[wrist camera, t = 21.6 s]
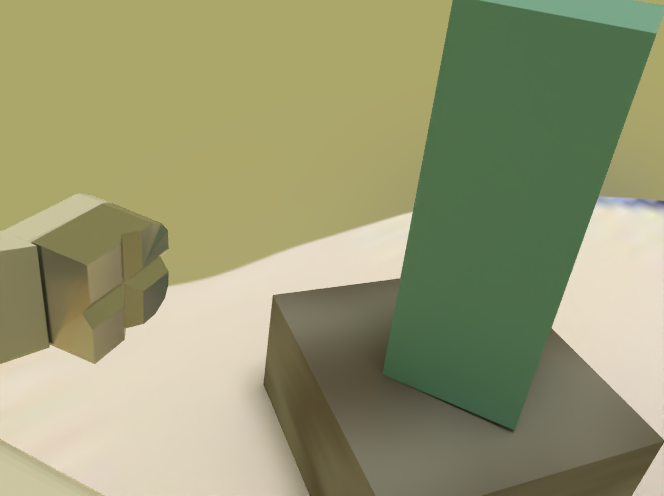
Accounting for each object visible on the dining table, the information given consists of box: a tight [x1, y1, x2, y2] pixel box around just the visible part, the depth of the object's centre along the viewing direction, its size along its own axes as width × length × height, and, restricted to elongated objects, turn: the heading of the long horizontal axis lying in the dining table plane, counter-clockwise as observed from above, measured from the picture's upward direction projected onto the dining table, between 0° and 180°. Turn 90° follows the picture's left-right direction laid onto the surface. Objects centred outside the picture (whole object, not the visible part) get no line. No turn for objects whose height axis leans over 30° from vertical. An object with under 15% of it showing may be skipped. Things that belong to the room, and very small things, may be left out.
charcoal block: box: [264, 279, 664, 496], centre depth 23 cm, size 10×10×5 cm
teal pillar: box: [382, 0, 664, 430], centre depth 19 cm, size 4×4×12 cm
